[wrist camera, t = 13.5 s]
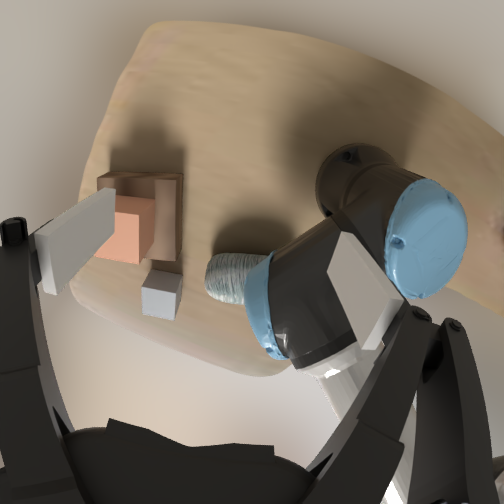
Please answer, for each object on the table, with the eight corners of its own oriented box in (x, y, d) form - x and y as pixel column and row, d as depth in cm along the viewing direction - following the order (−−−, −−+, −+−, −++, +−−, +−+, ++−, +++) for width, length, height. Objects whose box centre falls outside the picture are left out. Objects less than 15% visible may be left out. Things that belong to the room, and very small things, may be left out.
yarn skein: (299, 248, 44) (285, 303, 38) (288, 279, 52) (275, 327, 46) (218, 225, 46) (193, 274, 40) (219, 259, 53) (199, 303, 48)
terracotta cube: (155, 199, 39) (138, 215, 33) (153, 242, 42) (139, 264, 36) (113, 194, 38) (91, 209, 32) (113, 236, 41) (94, 256, 35)
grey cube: (182, 274, 50) (175, 293, 45) (180, 300, 53) (174, 320, 47) (151, 268, 49) (141, 286, 44) (151, 294, 52) (142, 313, 47)
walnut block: (183, 173, 42) (176, 180, 38) (181, 247, 48) (175, 261, 43) (110, 171, 41) (96, 177, 37) (114, 241, 47) (103, 253, 43)
